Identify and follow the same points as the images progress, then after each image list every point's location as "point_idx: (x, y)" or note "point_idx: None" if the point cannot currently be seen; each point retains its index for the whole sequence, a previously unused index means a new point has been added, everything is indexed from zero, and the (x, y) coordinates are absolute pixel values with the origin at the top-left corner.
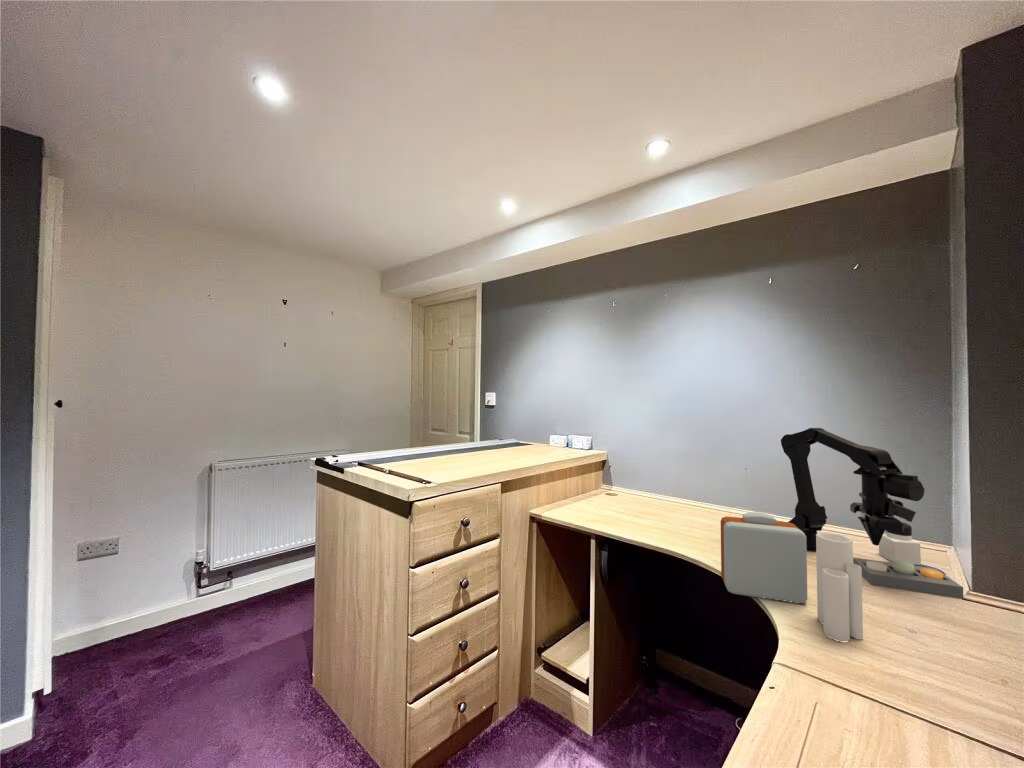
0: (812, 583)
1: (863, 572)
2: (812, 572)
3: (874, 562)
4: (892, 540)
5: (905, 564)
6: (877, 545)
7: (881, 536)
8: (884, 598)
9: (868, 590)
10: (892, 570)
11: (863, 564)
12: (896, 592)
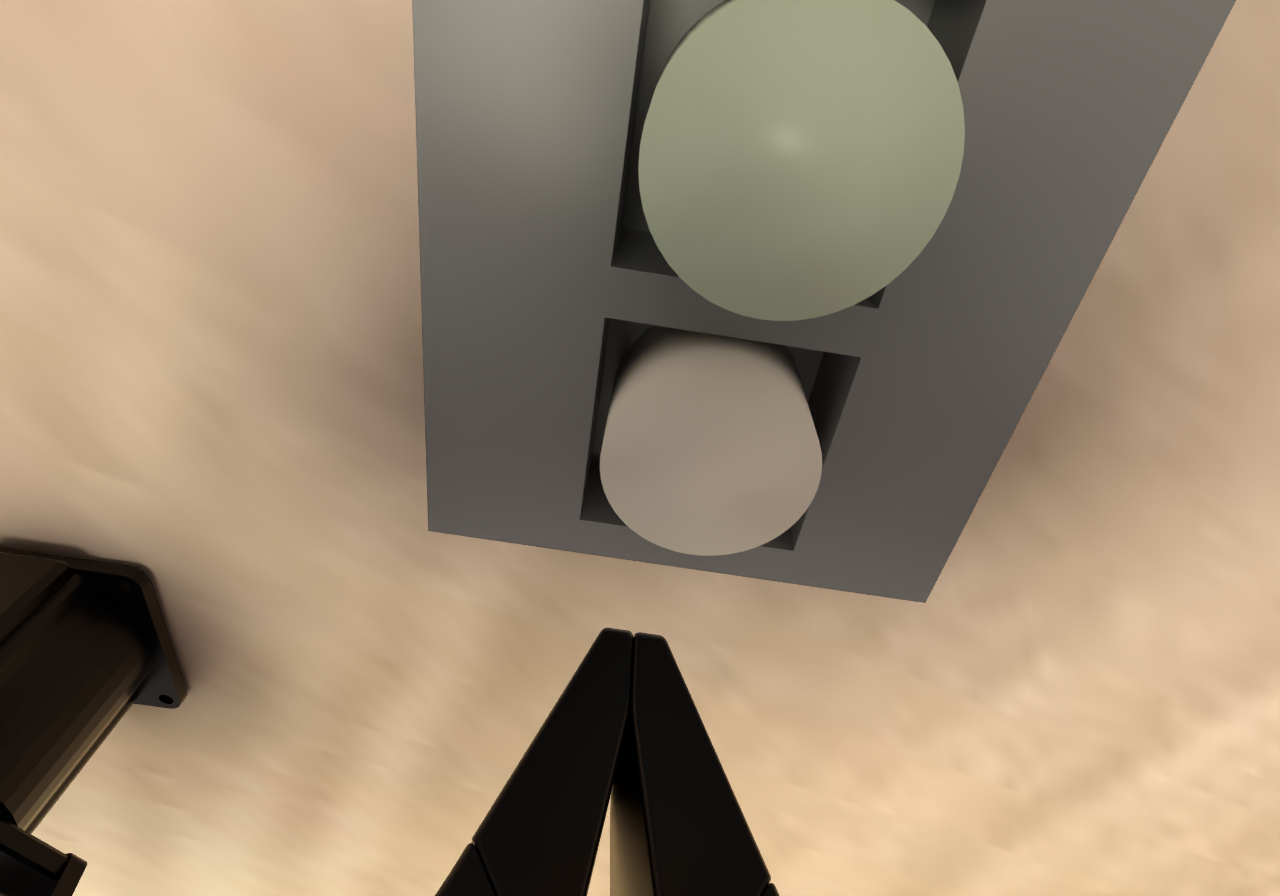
0: (907, 831)
1: None
2: None
3: (654, 465)
4: None
5: (851, 164)
6: (660, 642)
7: (759, 866)
8: (1173, 564)
9: (1015, 596)
10: None
11: None
12: (1064, 396)
